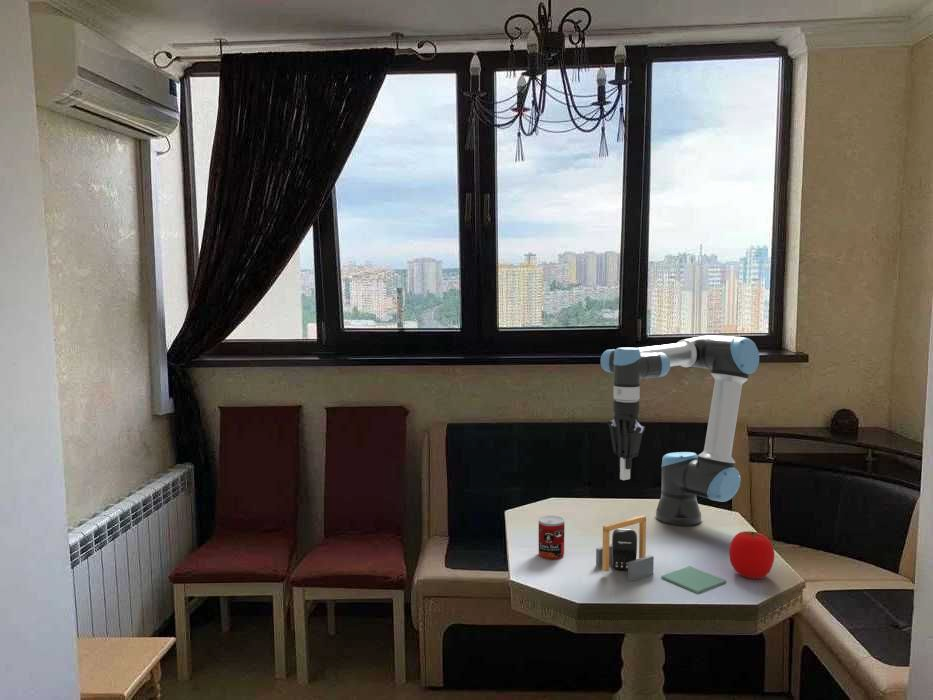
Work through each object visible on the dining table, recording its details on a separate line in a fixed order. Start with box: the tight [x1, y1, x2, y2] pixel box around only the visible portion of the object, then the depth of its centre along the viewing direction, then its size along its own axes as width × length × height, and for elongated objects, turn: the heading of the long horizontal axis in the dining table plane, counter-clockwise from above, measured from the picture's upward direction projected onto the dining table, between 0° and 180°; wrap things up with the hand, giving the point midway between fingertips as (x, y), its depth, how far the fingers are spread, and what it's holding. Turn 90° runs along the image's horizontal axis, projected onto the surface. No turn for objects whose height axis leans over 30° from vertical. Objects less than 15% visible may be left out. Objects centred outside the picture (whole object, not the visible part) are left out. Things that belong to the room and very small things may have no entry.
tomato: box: [728, 530, 775, 580], centre depth 191 cm, size 12×12×13 cm
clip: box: [595, 543, 655, 582], centre depth 196 cm, size 9×13×5 cm
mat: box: [661, 565, 727, 594], centre depth 189 cm, size 12×12×1 cm
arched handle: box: [601, 514, 647, 573], centre depth 196 cm, size 16×1×13 cm, turn 124°
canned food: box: [538, 515, 565, 561], centre depth 207 cm, size 8×8×11 cm
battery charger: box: [611, 528, 638, 572], centre depth 196 cm, size 7×4×11 cm, turn 78°
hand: (625, 478), depth 204 cm, fingers closed
